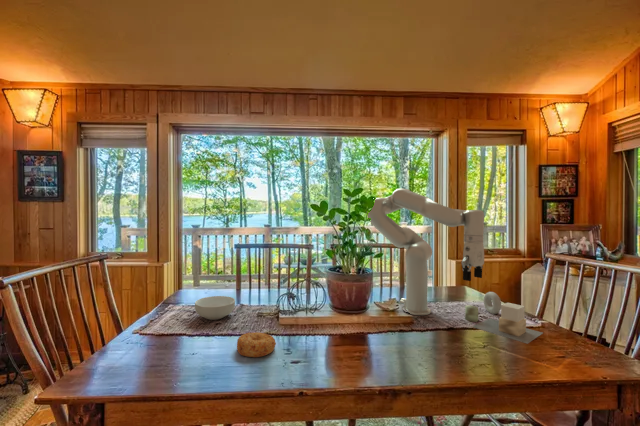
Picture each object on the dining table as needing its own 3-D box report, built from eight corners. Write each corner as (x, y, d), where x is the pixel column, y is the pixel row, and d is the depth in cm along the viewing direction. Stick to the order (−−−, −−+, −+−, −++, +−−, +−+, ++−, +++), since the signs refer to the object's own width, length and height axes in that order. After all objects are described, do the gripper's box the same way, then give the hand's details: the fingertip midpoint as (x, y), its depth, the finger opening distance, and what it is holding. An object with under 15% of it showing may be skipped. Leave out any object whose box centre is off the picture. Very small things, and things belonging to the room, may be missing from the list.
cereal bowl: (228, 324, 132) (228, 307, 132) (188, 323, 133) (188, 306, 132) (239, 310, 149) (239, 295, 149) (203, 310, 150) (203, 295, 149)
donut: (502, 317, 143) (503, 294, 143) (495, 317, 142) (496, 295, 142) (488, 310, 153) (488, 289, 153) (481, 310, 152) (482, 289, 152)
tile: (471, 328, 130) (471, 326, 130) (489, 319, 140) (489, 318, 140) (527, 345, 114) (527, 343, 114) (543, 334, 124) (543, 332, 124)
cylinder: (462, 320, 138) (463, 306, 138) (468, 318, 141) (469, 304, 141) (474, 324, 134) (474, 309, 134) (480, 321, 138) (480, 307, 137)
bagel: (252, 364, 100) (252, 348, 100) (227, 350, 108) (227, 336, 108) (283, 350, 109) (283, 335, 109) (258, 339, 118) (258, 325, 118)
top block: (501, 318, 126) (501, 305, 126) (507, 314, 129) (507, 302, 129) (517, 322, 121) (518, 309, 121) (524, 319, 125) (524, 306, 125)
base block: (498, 330, 126) (499, 317, 126) (506, 326, 130) (506, 314, 130) (518, 336, 120) (518, 323, 120) (525, 331, 125) (526, 319, 125)
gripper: (472, 241, 129) (471, 283, 129) (491, 238, 140) (490, 277, 140) (454, 239, 135) (453, 280, 135) (474, 237, 145) (473, 274, 146)
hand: (472, 278), depth 138 cm, fingers open, 9 cm apart
